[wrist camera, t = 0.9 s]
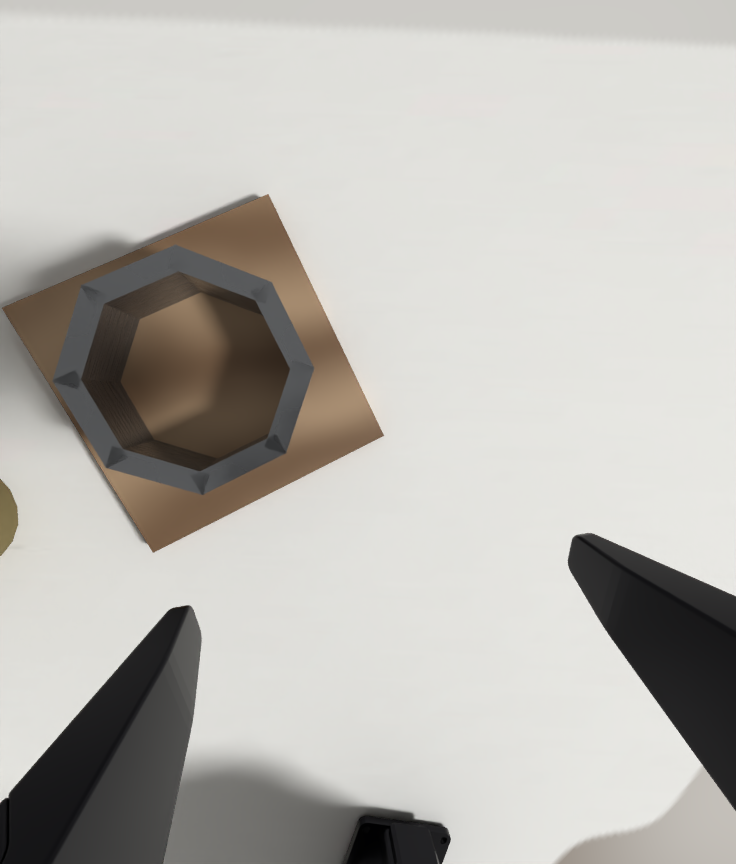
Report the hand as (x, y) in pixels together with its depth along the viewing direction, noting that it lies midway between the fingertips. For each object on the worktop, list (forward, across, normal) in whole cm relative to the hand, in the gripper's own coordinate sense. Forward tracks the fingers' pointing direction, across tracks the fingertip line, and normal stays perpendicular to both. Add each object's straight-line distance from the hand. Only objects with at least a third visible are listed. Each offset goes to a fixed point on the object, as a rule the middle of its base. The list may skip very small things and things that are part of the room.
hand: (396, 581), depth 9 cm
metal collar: (+15, +6, -1) cm, 16 cm away
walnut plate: (+15, +6, -1) cm, 16 cm away
